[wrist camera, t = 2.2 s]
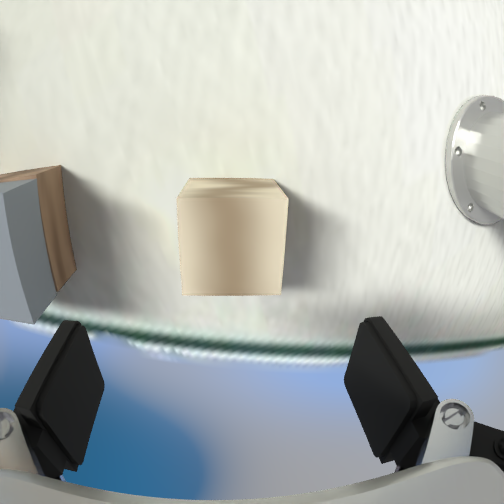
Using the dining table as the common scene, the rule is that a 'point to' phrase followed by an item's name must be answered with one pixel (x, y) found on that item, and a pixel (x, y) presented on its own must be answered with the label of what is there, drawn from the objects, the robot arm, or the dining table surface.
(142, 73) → the dining table surface
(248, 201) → the maple cube
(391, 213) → the dining table surface
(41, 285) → the slate block
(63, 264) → the walnut block
